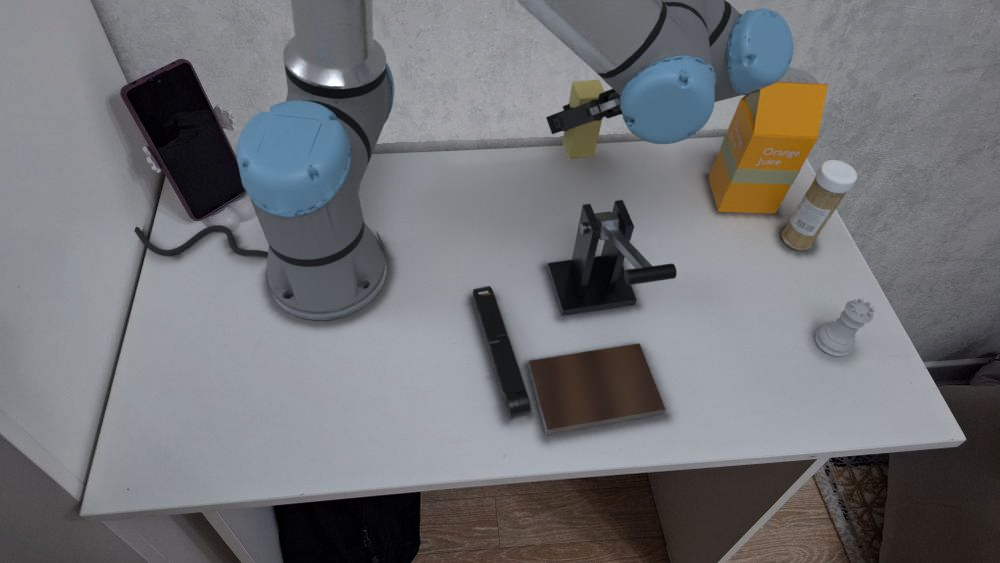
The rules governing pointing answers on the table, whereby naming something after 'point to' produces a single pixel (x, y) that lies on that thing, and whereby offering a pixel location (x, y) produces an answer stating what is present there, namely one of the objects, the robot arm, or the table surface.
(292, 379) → the table surface
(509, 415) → the black long bar
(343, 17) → the robot arm
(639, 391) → the board
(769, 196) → the orange juice
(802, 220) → the sprinkles bottle
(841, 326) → the rook chess piece
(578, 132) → the butter
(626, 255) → the arm
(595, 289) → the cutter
